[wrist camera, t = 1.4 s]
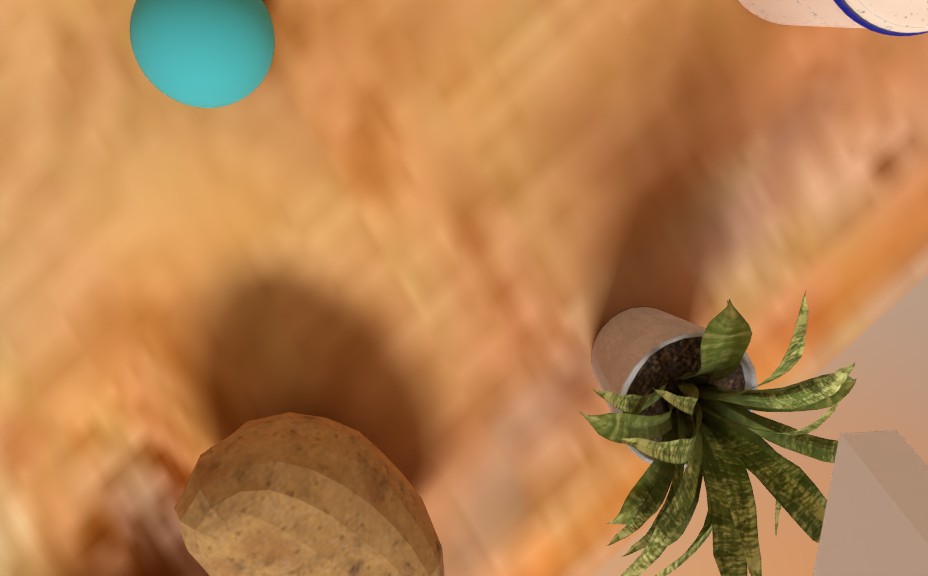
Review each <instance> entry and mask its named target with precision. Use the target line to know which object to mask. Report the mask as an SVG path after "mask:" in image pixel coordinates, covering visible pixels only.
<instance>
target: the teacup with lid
mask: <svg viewBox="0 0 928 576" xmlns="http://www.w3.org/2000/svg"><path fill="white" fill-rule="evenodd" d="M738 1H739V2H740V3H741V4H742V5H743V6H744V7H745V8H746V9H747V10H749V11H750V12H751V13H753V14H754V15H756V16H758V17H759V18H762V19H764V20H766V21H769V22H772V23H776V24H782V25H798V26H822V27H847V28H867V29H869V30H871V31H875V32H878V33H881V34H886V35H893V36H911V35H918V34H923V33H927V32H928V0H738Z"/></svg>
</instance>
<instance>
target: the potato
mask: <svg viewBox="0 0 928 576" xmlns="http://www.w3.org/2000/svg"><path fill="white" fill-rule="evenodd" d="M174 508H175V511H176V515H177V519H178V523H179V526H180V530H181V534H182V537H183V541H184V543H185V546H186V548H187V550H188V552H189V553H190V554H191V555H192V556H193V557H194V558H195V559H196V561H197V562H198V563H199V564H200V565H201V566H202V567H203V568H204V570H205V571H206V572H207V573H208V574H209V575H210V576H444V565H443V554H442V546H441V544H440V541H439V539H438V537H437V534H436V532H435V529H434V527H433V524H432V522H431V519H430V517H429V515H428V512H427V510H426V507H425V505H424V503H423V500H422V498H421V497H420V496H419V494H418V493H417V492H416V490H415V489H414V488H413V486H412V485H411V484H410V482H409V481H408V480H407V478H406V477H405V476H404V475H403V474H402V472H401V471H400V470H399V469H398V468H397V467H396V466H395V465H394V464H393V463H392V462H391V461H390V460H389V459H388V458H387V457H386V456H385V455H384V453H383V452H382V451H380V450H379V449H378V448H377V447H376V446H375V445H374V444H373V443H371V442H370V441H369V440H368V439H367V438H366V437H365V436H364V435H363V434H361V433H360V432H359V431H358V430H355V429H353V428H350V427H348V426H346V425H343V424H341V423H338V422H336V421H333V420H331V419H328V418H326V417H319V416H313V415H306V414H300V413H293V412H286V413H282V414H277V415H273V416H268V417H264V418H259V419H255V420H250V421H247V422H246V423H244V424H243V425H242V426H241V427H240V428H239V429H238V430H237V431H236V432H234V433H233V434H231V435H230V436H228V437H227V438H225V439H224V440H222V441H221V442H219V443H218V444H216V445H215V446H213V447H212V448H210V449H209V450H207V451H206V452H204V453H203V454H201V455H200V457H199V459H198V461H197V464H196V466H195V468H194V470H193V472H192V474H191V476H190V478H189V480H188V482H187V484H186V486H185V489H184V491H183V493H182V495H181V496H180V498H179V500H178V502H177V504H176V506H175V507H174Z"/></svg>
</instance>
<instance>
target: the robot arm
mask: <svg viewBox="0 0 928 576" xmlns="http://www.w3.org/2000/svg"><path fill="white" fill-rule="evenodd" d="M813 576H928V465H927V464H926V463H925V462H924V461H923V460H922V458H921V457H920V456H919V455H918V454H917V453H916V452H915V451H914V449H913V448H912V447H911V446H910V445H909V444H908V443H907V442H906V441H905V439H904V438H903V437H902V436H901V435H900V434H899V433H898V432H897V431H895V430H894V431H874V432H855V433H840V435H839V441H838V446H837V451H836V456H835V462H834V467H833V472H832V478H831V483H830V488H829V493H828V499H827V504H826V509H825V515H824V520H823V525H822V530H821V536H820V541H819V546H818V552H817V557H816V563H815V568H814V573H813Z"/></svg>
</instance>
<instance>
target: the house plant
mask: <svg viewBox="0 0 928 576" xmlns="http://www.w3.org/2000/svg"><path fill="white" fill-rule="evenodd" d="M806 291H807V290H806ZM805 294H806V292H805ZM805 294H804V297H803V300H802V304H801V308H800V312H799V316H798V319H797V323H796V326H795V329H794V333H793V337H792V340H791V343H790V345H789V348H788V350H787V352H786V354H785V356H784V358H783V360H782V362H781V364H780V366H779V367H778V368H777V369H776V371H775V372H774V373H773V374H772V375H771V376H770V377H769V378H768V379H767V380H765V381H764V382H762V383H761V384H759V385H758V384H757V379H756V373H755V368H754V366H753V364H752V362H751V360H750V358H749V356H748V354H747V353H746V352H745V351H746V349H747V347H748V345H749V343H750V340H751V336H752V332H751V329H750V326H749V324H748V323H747V322H746V321H745V319H744V318H743V317H742V316H741V315H740V313H739V312H738V311H737V310H736V309H735V308H734V306H733V305H732V303H731V301H730V299H729V302H728V300H727V302H728V305H727V307H726V308H725V309H724V310H723V311H722V312H721V313H719V314H718V315H717V316H716V317H715V318H714V319H713V320H712V321H710V322H709V324H708V326H707V328H704V327H701V326H699V325H696V324H694V323H691V322H689V321H686V320H684V319H681V318H679V317H676V316H674V315H671V314H669V313H666V312H664V311H661V310H659V309H656V308H651V307H636V308H631V309H628V310H625V311H623V312H620V313H619V314H617V315H616V316H614V317H613V318H611V319H610V320H609V321H608V322H607V323H606V324H605V325H604V326H603V327H602V329H601V330H600V332H599V334H598V335H597V337H596V339H595V342H594V345H593V349H592V367H593V370H594V374H595V376H596V379H597V381H598V383H599V385H600V388H601V390H602V391H597V390H594V389H593V390H594V391H595V392H596V393H597V394H598V395H599V396H601V397H602V398H603V399H605V400H606V402H607V404H608V406H609V408H610V411H611V413H608V414H603V415H585V414H583V413H581V412H580V413H581V414H582V415H583V416H584V417H585V418H586V419H587V420H588V422H589V423H590V424H591V425H592V426H593V428H594V429H595V430H596V431H597V433H598V434H599V435H601V436H603V437H605V438H606V439H608V440H610V441H614V442H617V443H625V444H627V446H628V447H629V449H630V450H631V451H632V452H633V453H635V454H636V455H637V456H638V457H639V458H641V459H642V460H643V461H646V462H648V463H650V464H651V465H650V466H649V468H648V469H647V471H646V472H645V473H644V475H643V476H642V477H641V478H640V480H639V481H638V482H637V483H636V485H635V486H634V487H633V489H632V490H631V491H630V493H629V495H628V496H627V498H626V500H625V502H624V504H623V506H622V508H621V511H620V513H619V514H618V515H617V517H616V518H615V519H614V520H613V521H612V522H609V523H608V524H628V525H627V526H625V527H624V528H623V529H622V530H621V531H620V532H618V533H617V534H616V535H615V537H614V538H613V540H612V541H611V542H610V544H609V545H611V544H614V543H615V542H617V541H619V540H621V539H623V538H626V537H628V536H629V535H631V534H632V533H633V532H635V531H636V530H638V529H639V528H640V527H641V526H642V525H643V524H644V523H645V522H646V521H647V519H649V518H650V517H651V516H652V515H653V514H654V513H656V512H657V510H658V509H659V507H660V506H661V504H662V503H663V501H664V499H665V496H666V494H667V492H668V489H669V487H670V484H671V482H672V484H671V487H670V491H669V494H668V496H667V499H666V501H665V504H664V505H663V507H662V509H661V510H660V512H659V514H658V515H657V517H656V519H655V521H654V523H653V524H652V526H651V528H650V529H649V531H648V532H647V534H646V535H645V536H644V537H643V538H642V539H640V540H639V541H638V542H637V543H635V544H634V545H633V546H632V547H631V548H630V550H629V551H628V552H627V553H626V554H625V555H624V556H626V555H629V554H631V553H633V552H636V551H638V550H640V549H642V548H645V549H644V550H643V552H642V553H641V555H640V556H639V557H638V558H637V559H636V560H635V562H634V563H633V564H632V565H631V566H630V567H629V568H628V569H627V570H626V571H625V572H624V573H623V574H622V575H621V576H639V575H640V574H641V573H642V572H643V571H644V570H646V568H648V567H649V566H650V565H651V564H652V563H653V562H654V561H655V560H656V559H657V558H658V557H659V556H660V555H661V554H662V552H663V551H664V550H665V548H666V547H667V546H668V545H670V544H672V543H673V542H675V541H677V540H678V539H679V537H680V536H681V535H682V534H683V533H684V531H685V529H686V527H687V525H688V523H689V521H690V519H691V518H692V515H693V513H694V510H695V508H696V505H697V503H698V499H699V494H700V488H701V483H702V477H703V476H704V481H705V486H706V491H707V502H708V513H707V516H706V520H705V523H704V526H703V528H702V530H701V532H700V533H699V535H698V537H697V539H696V540H695V542H694V543H693V544H692V545H691V546H690V548H689V549H688V550H687V551H686V553H685V554H683V555H682V556H681V557H680V558H679V559H677V560H676V561H675V562H674V563H672V564H671V565H669V566H668V567H667V568H665V569H664V570H663V571H661V572H660V573H659V574H657V575H656V576H666V575H667V574H669V573H671V572H672V571H673V570H675V569H676V568H677V567H678V566H680V565H681V564H682V563H683V562H684V561H686V560H687V559H688V558H689V557H690V556H691V555H692V554H693V553H694V552H696V550H697V549H698V548H699V547H700V546H701V544H702V543H703V542H704V541H705V540H706V538H707V537H708V536H709V534H710V532H711V530H713V555H714V558H715V560H716V563H717V565H718V568H719V571H720V574H721V576H747V566H748V569H749V573H750V574H751V576H762V574H761V555H760V549H759V542H758V531H757V516H756V506H755V500H754V495H753V490H752V486H751V483H750V479H749V476H748V473H747V470H746V468H747V469H748V470H749V471H751V472H752V473H753V474H754V475H755V476H756V477H757V478H758V479H759V480H760V481H761V483H762V484H763V485H764V486H765V487H766V488H767V490H768V491H769V492H770V493H771V494H772V495H773V496H774V497H775V499H776V512H775V533H777V526H778V517H779V512H780V508H781V505H782V507H783V508H784V509H785V510H786V511H787V512H788V513H789V514H790V516H791V517H792V518H793V519H794V520H795V521H796V522H797V524H798V525H799V526H800V527H801V528H802V529H803V530H804V531H805V532H806V533H807V534H808V535H809V537H810V538H811V539H812V540H814V541H816V542H818V543H819V541H820V536H821V530H822V525H823V520H824V515H825V509H826V504H827V500H826V499H825V497H824V496H823V495H822V493H821V492H820V491H819V489H818V488H817V487H816V485H815V484H814V483H813V482H812V481H811V480H810V478H809V477H808V476H807V475H806V474H805V473H804V472H803V470H802V469H801V468H800V467H799V466H797V465H795V464H794V463H792V462H790V461H789V460H787V459H786V458H784V457H783V456H781V455H780V454H778V453H777V452H776V451H775V450H774V449H773V448H772V447H771V446H770V445H769V444H768V443H767V442H765V441H764V439H766V440H768V441H770V442H772V443H774V444H777V445H779V446H781V447H784V448H786V449H789V450H792V451H795V452H798V453H800V454H804V455H806V456H809V457H812V458H815V459H818V460H821V461H824V462H831V463H834V462H835V456H836V451H837V446H838V441H836V440H829V439H824V438H820V437H816V436H813V435H809V434H807V433H809V432H811V431H812V430H814V429H816V428H818V427H819V426H820V425H821V424H822V423H823V422H824V421H825V420H826V419H827V418H828V417H829V416H830V415H831V414H832V413H833V412H834V410H835V408H836V406H837V404H838V403H839V401H840V400H842V399H843V398H844V397H845V396H846V395H847V394H848V393H849V392H850V390H851V389H852V387H853V386H854V384H855V382H856V379H852V378H851V377H849V376H848V375H849V373H850V372H851V370H852V369H853V368H854V365H855V363H854V364H853V365H850V366H848V367H844V368H842V369H839V370H838V371H836V372H835V373H833V374H828V375H822V376H818V377H815V378H811V379H808V380H805V381H802V382H800V383H797V384H793V385H790V386H787V387H783V388H775V389H765V390H757V387H758V386H760V385H763V384H765V383H768V382H770V381H772V380H774V379H776V378H778V377H780V376H782V375H783V374H785V373H786V372H788V371H789V370H790V369H791V368H792V367H793V366H794V365H795V364H796V362H797V361H798V360H799V359H800V358H801V356H802V352H803V349H804V344H805V333H806V327H807V321H808V308H807V303H806V297H805ZM834 404H835V405H834ZM832 405H834V406H833V407H832V408H831V409H830V410H828V411H827V412H826V413H825V414H824V415H823V416H821V417H820V418H819V419H818V420H817V421H815V422H814V423H813V424H811V425H809V426H807V427H805V428H802V429H800V430H797V429H795V428H792V427H790V426H787V425H784V424H782V423H779V422H776V421H773V420H771V419H768V418H765V417H762V416H760V415H757V414H755V413H753V410H756V411H765V412H793V411H806V410H817V409H822V408H827V407H830V406H832ZM762 437H763V438H764V439H762ZM685 467H686V469H685V472H684V468H685ZM683 473H684V474H683ZM672 479H673V480H672ZM607 546H608V545H607Z"/></svg>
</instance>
